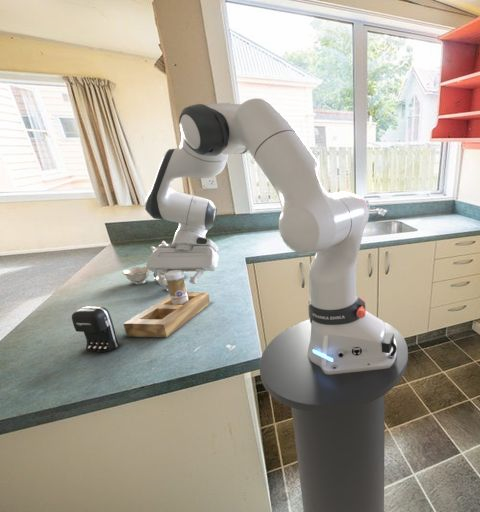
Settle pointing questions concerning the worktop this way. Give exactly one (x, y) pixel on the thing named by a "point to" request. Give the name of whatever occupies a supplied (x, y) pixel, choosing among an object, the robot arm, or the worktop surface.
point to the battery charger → (96, 328)
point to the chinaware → (144, 273)
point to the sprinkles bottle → (176, 287)
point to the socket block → (165, 316)
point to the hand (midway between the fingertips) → (177, 283)
